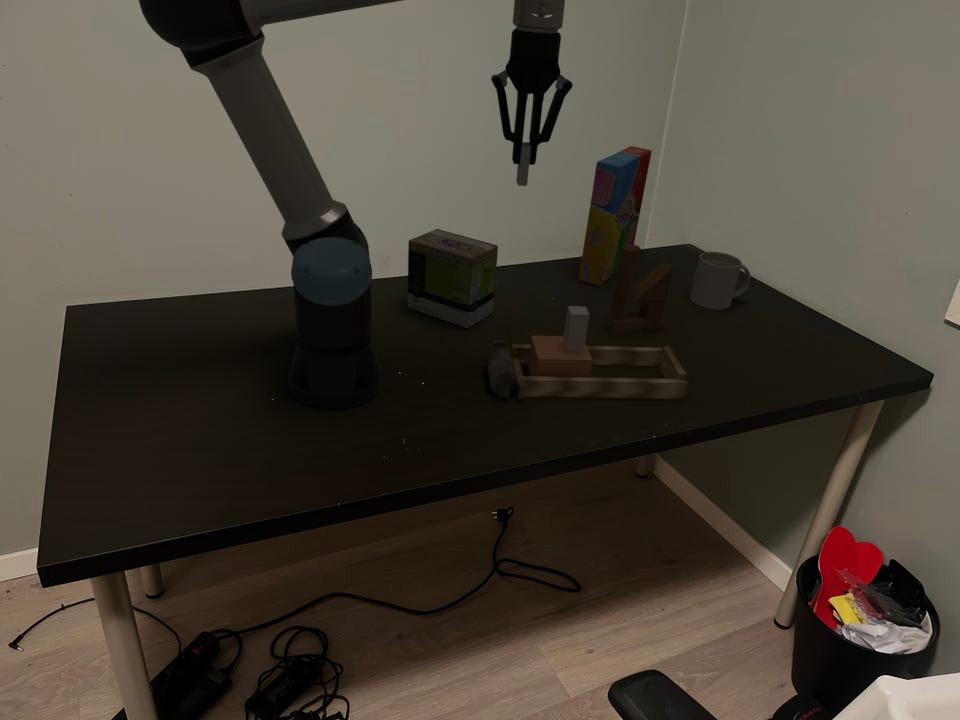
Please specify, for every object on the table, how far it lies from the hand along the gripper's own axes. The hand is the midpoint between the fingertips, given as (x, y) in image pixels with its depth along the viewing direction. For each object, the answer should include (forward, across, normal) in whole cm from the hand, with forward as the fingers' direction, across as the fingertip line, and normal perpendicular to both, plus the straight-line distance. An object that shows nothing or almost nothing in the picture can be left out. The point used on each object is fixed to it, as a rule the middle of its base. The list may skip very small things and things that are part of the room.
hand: (521, 183), depth 119 cm
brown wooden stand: (+31, +26, +6) cm, 41 cm away
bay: (+30, +12, -14) cm, 35 cm away
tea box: (+31, -10, +13) cm, 35 cm away
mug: (+31, +49, +21) cm, 62 cm away
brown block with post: (+30, +7, -14) cm, 33 cm away
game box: (+31, +28, +37) cm, 56 cm away
